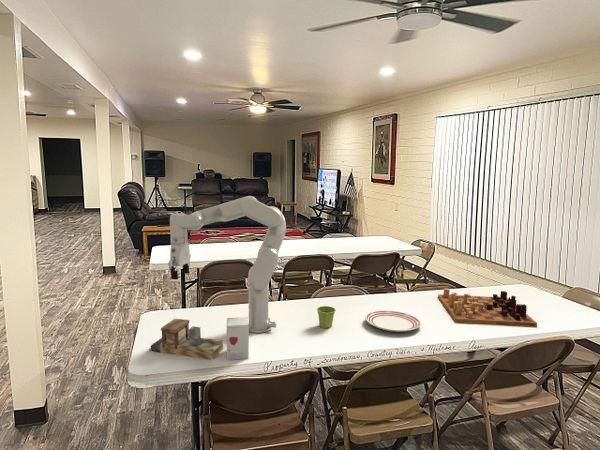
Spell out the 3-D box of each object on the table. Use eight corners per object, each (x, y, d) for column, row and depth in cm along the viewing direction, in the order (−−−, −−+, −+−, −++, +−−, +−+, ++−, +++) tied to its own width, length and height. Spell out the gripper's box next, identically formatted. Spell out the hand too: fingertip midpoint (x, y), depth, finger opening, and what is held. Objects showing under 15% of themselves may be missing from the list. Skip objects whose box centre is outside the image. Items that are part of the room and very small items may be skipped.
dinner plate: (397, 312, 233) (397, 306, 232) (432, 330, 208) (433, 324, 208) (354, 319, 221) (354, 313, 220) (386, 340, 196) (387, 333, 196)
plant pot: (337, 324, 214) (338, 307, 212) (331, 331, 205) (331, 313, 204) (320, 321, 218) (321, 304, 216) (313, 327, 209) (313, 310, 208)
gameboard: (437, 298, 258) (438, 283, 257) (506, 301, 255) (508, 286, 253) (455, 323, 219) (456, 306, 218) (536, 327, 215) (538, 310, 214)
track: (223, 348, 184) (223, 324, 183) (212, 360, 174) (211, 334, 172) (164, 341, 191) (163, 317, 189) (150, 351, 180) (149, 326, 179)
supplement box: (226, 360, 174) (226, 325, 172) (226, 350, 183) (226, 317, 180) (249, 359, 176) (249, 324, 173) (248, 349, 184) (247, 316, 182)
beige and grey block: (202, 342, 184) (201, 326, 182) (195, 348, 178) (195, 331, 177) (173, 339, 187) (172, 322, 186) (165, 344, 181) (165, 327, 180)
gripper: (175, 244, 188) (177, 282, 190) (196, 237, 204) (196, 272, 207) (161, 243, 190) (162, 280, 192) (182, 236, 206) (183, 271, 209)
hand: (180, 276), depth 199 cm, fingers open, 9 cm apart
